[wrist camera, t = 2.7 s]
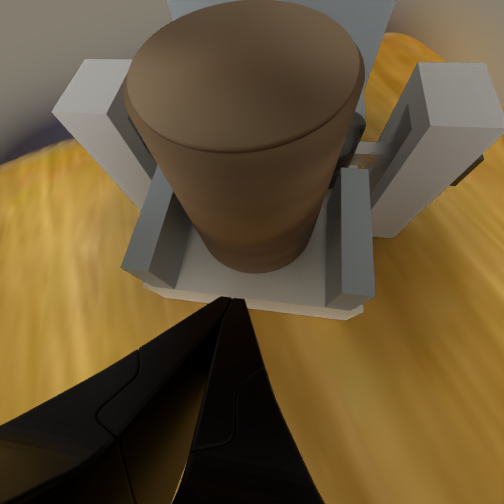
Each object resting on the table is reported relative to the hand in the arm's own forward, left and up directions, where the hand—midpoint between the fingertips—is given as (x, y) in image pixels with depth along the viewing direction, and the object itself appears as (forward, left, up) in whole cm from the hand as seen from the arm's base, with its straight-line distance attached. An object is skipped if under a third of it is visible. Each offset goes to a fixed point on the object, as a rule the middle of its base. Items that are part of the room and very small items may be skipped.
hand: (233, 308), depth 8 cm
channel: (+7, +2, -7) cm, 10 cm away
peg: (+5, +2, -4) cm, 7 cm away
